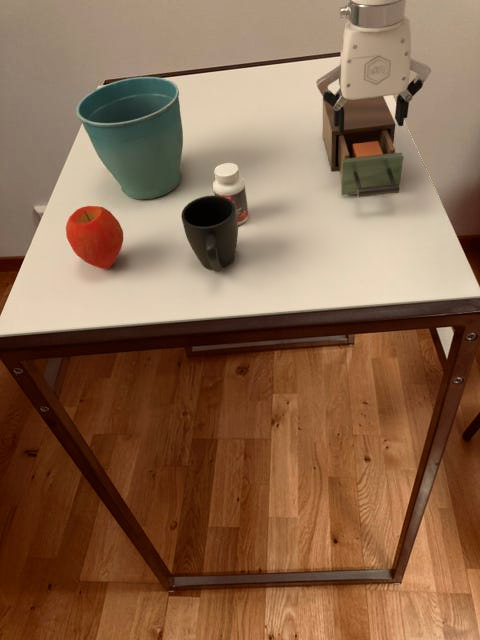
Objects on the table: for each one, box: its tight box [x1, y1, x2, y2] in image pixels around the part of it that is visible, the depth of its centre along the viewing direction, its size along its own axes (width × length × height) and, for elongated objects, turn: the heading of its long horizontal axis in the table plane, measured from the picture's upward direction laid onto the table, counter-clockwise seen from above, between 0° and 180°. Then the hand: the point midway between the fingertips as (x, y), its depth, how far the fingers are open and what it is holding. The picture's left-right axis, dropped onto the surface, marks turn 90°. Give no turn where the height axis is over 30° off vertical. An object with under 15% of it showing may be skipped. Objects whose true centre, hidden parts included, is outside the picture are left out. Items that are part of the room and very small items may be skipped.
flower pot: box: [75, 76, 184, 200], centre depth 94 cm, size 18×18×17 cm
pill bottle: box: [212, 162, 250, 226], centre depth 86 cm, size 5×5×10 cm
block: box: [352, 141, 383, 158], centre depth 89 cm, size 4×4×4 cm
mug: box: [180, 194, 239, 273], centre depth 78 cm, size 8×12×10 cm
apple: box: [65, 205, 124, 270], centre depth 81 cm, size 9×8×11 cm
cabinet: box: [322, 96, 397, 172], centre depth 97 cm, size 14×11×8 cm
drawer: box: [336, 129, 404, 198], centre depth 88 cm, size 19×10×6 cm, turn 1°
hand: (369, 125), depth 84 cm, fingers open, 9 cm apart
